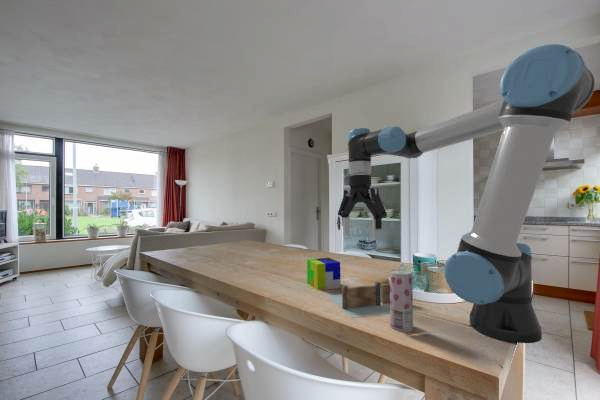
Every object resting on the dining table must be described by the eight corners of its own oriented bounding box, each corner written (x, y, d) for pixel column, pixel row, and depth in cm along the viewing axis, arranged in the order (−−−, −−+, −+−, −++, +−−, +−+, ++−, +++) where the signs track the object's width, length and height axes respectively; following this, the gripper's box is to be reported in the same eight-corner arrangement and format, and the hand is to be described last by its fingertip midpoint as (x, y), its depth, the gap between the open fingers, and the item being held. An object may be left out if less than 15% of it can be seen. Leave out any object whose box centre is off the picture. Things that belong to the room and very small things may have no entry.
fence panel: (378, 303, 91) (378, 281, 91) (381, 305, 89) (381, 283, 89) (341, 307, 87) (341, 285, 88) (343, 309, 86) (343, 287, 86)
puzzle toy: (340, 287, 110) (340, 262, 110) (317, 290, 106) (317, 264, 106) (328, 281, 119) (328, 257, 119) (307, 283, 116) (307, 259, 116)
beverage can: (407, 323, 77) (406, 268, 77) (417, 333, 71) (416, 274, 71) (387, 323, 76) (386, 269, 77) (395, 333, 71) (394, 274, 71)
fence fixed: (400, 300, 93) (400, 280, 93) (403, 301, 92) (403, 281, 92) (380, 302, 91) (380, 282, 91) (383, 304, 89) (383, 283, 90)
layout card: (417, 310, 86) (417, 309, 86) (352, 319, 80) (352, 317, 80) (382, 291, 105) (382, 289, 105) (326, 296, 99) (326, 295, 99)
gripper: (397, 172, 87) (398, 240, 86) (343, 178, 108) (343, 233, 107) (381, 170, 83) (382, 242, 82) (328, 177, 103) (328, 235, 103)
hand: (360, 237), depth 95 cm, fingers open, 13 cm apart
